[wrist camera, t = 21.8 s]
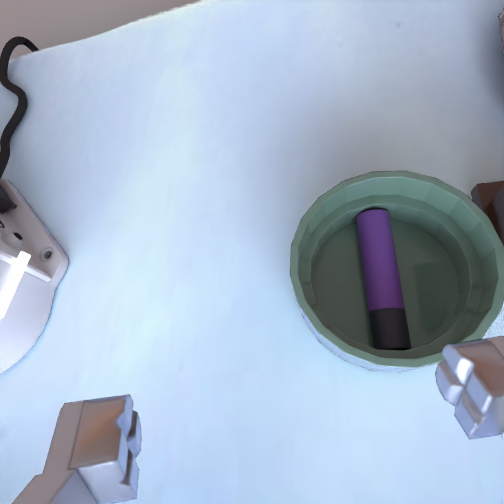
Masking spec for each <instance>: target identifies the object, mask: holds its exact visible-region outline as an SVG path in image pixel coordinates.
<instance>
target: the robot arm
mask: <svg viewBox="0 0 504 504" xmlns="http://www.w3.org/2000/svg"><path fill="white" fill-rule="evenodd" d="M21 44H22V45H25V46H26V47H28V48H29V49H30V50H31V51H32V52H35V51H39V49H38V48H37V47H36V46H35V45H34V44H33V43H32V42H31V41H30V40H28V39H27V38H24V37H14V38H12V39H11V40H9V41H8V42H7V43H6V45H5V46H4V48H3V51H2V53H1V57H0V82H1V84H2V85H3V86H4V87H5V88H7V89H8V90H10V91H12V92H13V93H15V94H16V95H17V96H18V99H19V100H18V106H17V109H16V111H15V113H14V114H13V116H12V118H11V119H10V121H9V122H8V124H7V125H6V127H5V129H4V131H3V133H2V136H1V140H0V373H2V372H4V371H6V370H7V369H9V368H10V367H12V366H13V365H15V364H16V363H17V362H18V361H19V360H21V359H22V358H23V357H24V356H25V355H26V354H27V353H28V351H29V350H30V349H31V348H32V347H33V345H34V344H35V343H36V341H37V340H38V338H39V337H40V335H41V333H42V331H43V329H44V327H45V325H46V323H47V320H48V318H49V315H50V311H51V307H52V302H53V298H54V293H55V290H56V287H57V286H58V284H59V282H60V281H61V279H62V277H63V276H64V274H65V272H66V270H67V267H68V264H69V259H68V257H67V255H66V254H65V252H64V251H63V250H62V248H61V247H60V246H59V244H58V243H57V242H56V241H55V239H54V238H53V237H52V235H51V234H50V233H49V231H48V230H47V229H46V228H45V226H44V225H43V224H42V222H41V221H40V220H39V218H38V217H37V216H36V214H35V213H34V212H33V211H32V209H31V208H30V207H29V205H28V204H27V203H26V201H25V200H24V199H23V198H22V196H21V195H20V194H19V192H18V191H17V190H16V188H15V187H14V186H13V185H12V184H11V183H10V182H9V181H7V180H5V179H3V178H1V177H2V175H3V172H4V170H5V168H6V165H7V163H8V160H9V156H10V139H11V136H12V134H13V132H14V130H15V129H16V127H17V126H18V124H19V123H20V121H21V119H22V118H23V116H24V114H25V111H26V109H27V97H26V94H25V93H24V91H23V90H22V89H20V88H19V87H18V86H16V85H14V84H13V83H11V82H10V81H9V80H8V78H7V69H8V62H9V58H10V55H11V53H12V51H13V49H14V48H15V47H16V46H17V45H21ZM51 253H52V255H51V257H50V258H49V255H50V254H51ZM442 355H443V357H444V358H445V359H444V360H442V361H441V362H440V363H439V364H438V365H437V368H436V372H435V376H436V383H437V386H438V388H439V391H440V393H441V394H442V396H443V398H444V399H445V400H446V401H447V402H449V403H450V404H452V405H453V406H455V413H454V416H455V417H456V419H457V421H458V422H459V424H460V425H461V427H462V429H463V430H464V432H465V433H466V435H467V437H468V438H469V439H476V438H483V437H490V436H496V435H502V436H501V437H502V438H503V439H504V336H497V337H492V338H486V339H476V340H470V341H464V342H459V343H453V344H448V345H446V346H445V347H444V348H443V351H442ZM141 441H142V435H141V423H140V418H139V415H138V413H137V412H136V411H134V410H133V400H132V398H131V396H130V394H127V395H120V396H113V397H105V398H98V399H91V400H83V401H76V402H70V403H64V405H63V407H62V408H61V410H60V412H59V416H58V419H57V423H56V427H55V430H54V434H53V437H52V441H51V445H50V448H49V452H48V455H47V459H46V463H45V466H44V470H43V473H42V474H41V475H36V476H35V477H34V478H33V479H32V480H31V481H30V483H29V484H28V485H27V486H26V487H25V489H24V490H23V491H22V492H21V493H20V494H19V496H18V497H17V498H16V499H15V500H14V501H13V503H12V504H113V503H118V502H123V501H128V500H133V499H137V489H138V478H139V468H138V465H137V463H136V461H135V458H136V457H137V456H138V454H139V453H140V451H141Z"/></svg>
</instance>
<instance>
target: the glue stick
mask: <svg viewBox="0 0 504 504" xmlns="http://www.w3.org/2000/svg"><path fill="white" fill-rule="evenodd" d="M356 222H357V230H358V237H359V244H360V252H361V259H362V267H363V274H364V281H365V289H366V296H367V304H368V311H369V318H370V326H371V333H372V340H373V348H375V349H382V350H400V351H404V350H408V349H411V342H410V336H409V330H408V324H407V318H406V312H405V306H404V300H403V294H402V288H401V282H400V276H399V270H398V264H397V258H396V252H395V246H394V240H393V234H392V228H391V222H390V216H389V213H388V212H387V211H385V210H380V209H376V210H369V211H365V212H363V213H361V214H359V215H358V216H357V217H356Z"/></svg>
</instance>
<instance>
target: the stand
mask: <svg viewBox="0 0 504 504" xmlns="http://www.w3.org/2000/svg"><path fill="white" fill-rule="evenodd" d="M471 194H472V198H473V202H474V203H475V204H476V205H477V206H478V207H479V208H480V209H481V210H482V211H483V212H484V213H485V214H486V215H487V216H488V217H489V219H490V221H491V223H492V225H493V227H494V229H495V230H496V232H497V234H498V236H499V238H500V240H501V242H502V244H503V246H504V181H499V182H490V183H481V184H476V186H475V187H474V188H473V190H472V191H471Z"/></svg>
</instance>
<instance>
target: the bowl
mask: <svg viewBox="0 0 504 504" xmlns="http://www.w3.org/2000/svg"><path fill="white" fill-rule="evenodd" d="M376 209H380V210H385V211H387V212H388V213H389V216H390V222H391V228H392V234H393V240H394V246H395V252H396V258H397V264H398V270H399V276H400V282H401V288H402V294H403V300H404V306H405V312H406V318H407V324H408V330H409V336H410V342H411V349H408V350H404V351H400V350H382V349H375V348H373V340H372V333H371V326H370V318H369V311H368V304H367V296H366V289H365V281H364V274H363V267H362V259H361V252H360V244H359V237H358V230H357V222H356V217H357V216H358V215H359V214H361V213H363V212H365V211H369V210H376ZM290 277H291V281H292V284H293V288H294V291H295V294H296V298H297V301H298V304H299V307H300V310H301V313H302V316H303V318H304V320H305V322H306V323H307V325H308V326H309V327H310V329H311V330H312V332H313V333H314V335H315V336H316V338H317V339H318V341H320V343H322V344H323V345H324V346H325V347H327V348H328V349H329V350H331V351H332V352H333V353H334V354H336V355H337V356H338V357H339V358H341V359H343V360H344V361H347V362H349V363H352V364H355V365H357V366H360V367H362V368H365V369H367V370H371V371H382V372H398V373H401V372H406V371H410V370H414V369H417V368H421V367H425V366H429V365H433V364H436V363H440V362H441V361H442V360H444V359H445V358H444V357H443V355H442V351H443V348H444V347H445V346H446V345H448V344H453V343H459V342H464V341H470V340H476V339H482V338H483V336H484V335H485V333H486V332H487V330H488V329H489V328H490V326H491V325H492V323H493V322H494V320H495V319H496V317H497V316H498V315H499V313H500V311H501V309H502V305H503V300H504V246H503V244H502V242H501V240H500V238H499V236H498V234H497V232H496V230H495V229H494V227H493V225H492V223H491V221H490V219H489V217H488V216H487V215H486V214H485V213H484V212H483V211H482V210H481V209H480V208H479V207H478V206H477V205H476V204H475V203H474V202H473V201H472V200H471V199H470V198H469V197H468V196H467V195H466V194H464V193H463V192H461V191H459V190H457V189H455V188H453V187H452V186H450V185H448V184H446V183H444V182H442V181H441V180H439V179H437V178H436V179H435V178H434V177H430V176H425V175H421V174H417V173H412V172H408V171H376V172H370V173H367V174H364V175H360V176H357V177H354V178H351V179H347V180H345V181H343V182H341V183H340V184H338V185H337V186H335V187H333V188H332V189H330V190H329V191H327V192H326V193H324V194H323V195H321V196H320V197H319V198H318V199H317V200H316V201H315V203H314V204H313V205H312V206H311V207H310V209H309V210H308V211H307V212H306V214H305V215H304V216H303V217H302V219H301V221H300V223H299V226H298V229H297V231H296V234H295V236H294V239H293V241H292V244H291V257H290Z"/></svg>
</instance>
